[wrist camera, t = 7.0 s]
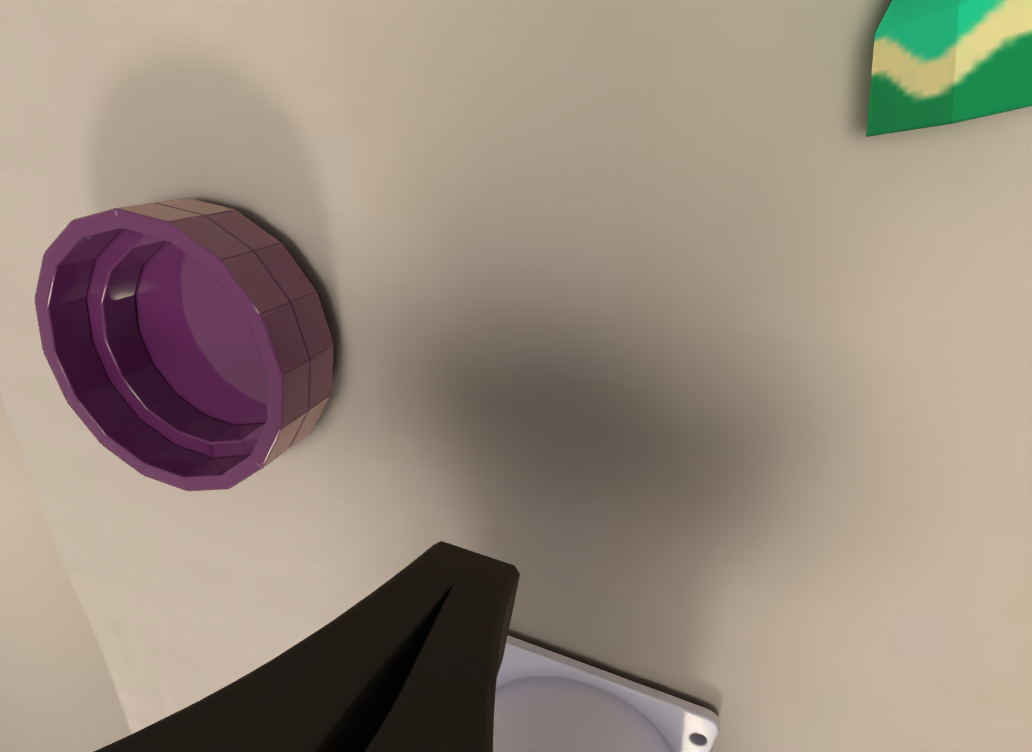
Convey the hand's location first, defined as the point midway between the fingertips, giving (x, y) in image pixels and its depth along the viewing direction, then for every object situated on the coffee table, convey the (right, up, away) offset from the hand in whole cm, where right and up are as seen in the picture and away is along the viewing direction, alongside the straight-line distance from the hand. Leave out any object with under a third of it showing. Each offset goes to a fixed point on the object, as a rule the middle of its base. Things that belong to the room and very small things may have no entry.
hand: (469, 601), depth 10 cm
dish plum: (-8, +5, +10) cm, 14 cm away
